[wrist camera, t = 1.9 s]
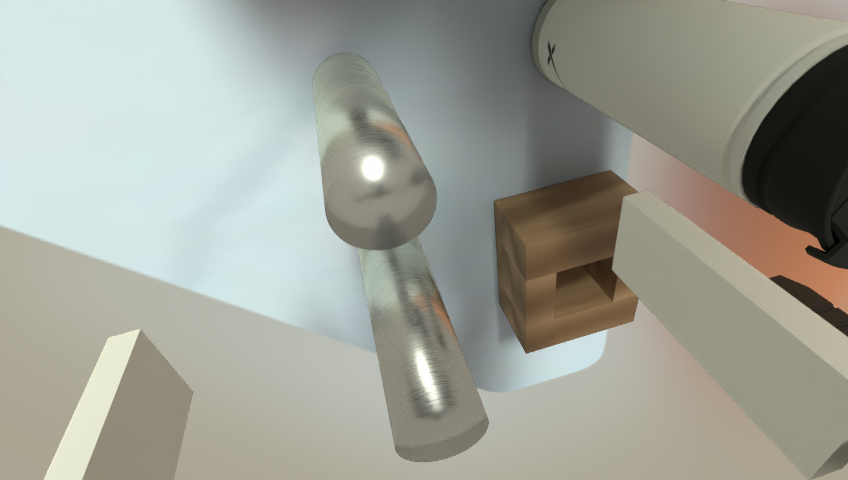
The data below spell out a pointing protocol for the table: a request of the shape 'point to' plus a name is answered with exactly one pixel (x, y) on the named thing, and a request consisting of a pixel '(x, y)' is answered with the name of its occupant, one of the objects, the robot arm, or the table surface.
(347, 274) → the table surface
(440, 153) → the table surface
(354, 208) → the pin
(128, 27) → the table surface
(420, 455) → the pin long
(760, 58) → the travel mug
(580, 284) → the hole block
